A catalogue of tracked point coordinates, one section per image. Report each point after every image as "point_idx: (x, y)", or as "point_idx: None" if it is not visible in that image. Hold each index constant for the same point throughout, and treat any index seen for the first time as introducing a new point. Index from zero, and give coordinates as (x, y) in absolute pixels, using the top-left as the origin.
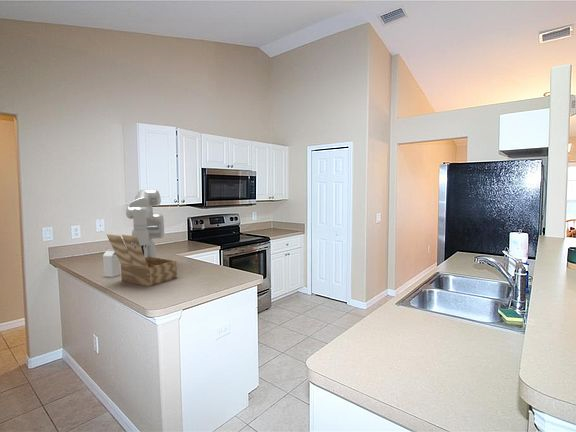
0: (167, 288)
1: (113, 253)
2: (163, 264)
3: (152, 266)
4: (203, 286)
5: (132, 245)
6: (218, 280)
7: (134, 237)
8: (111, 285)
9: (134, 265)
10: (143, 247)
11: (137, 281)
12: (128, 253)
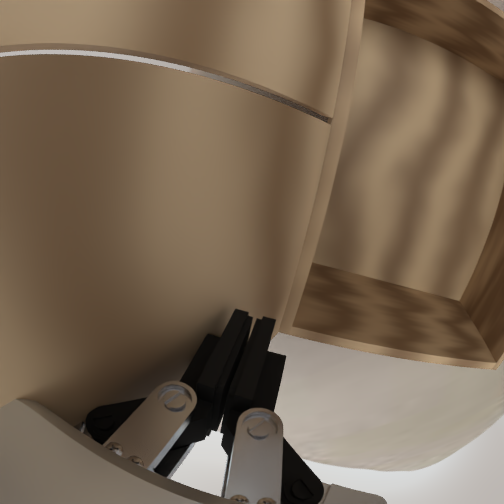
0: (287, 354)
1: None
2: (415, 357)
3: (326, 336)
4: (335, 430)
5: (14, 400)
6: (403, 434)
7: None
8: None
9: (331, 124)
10: (223, 484)
11: None
12: (209, 69)
